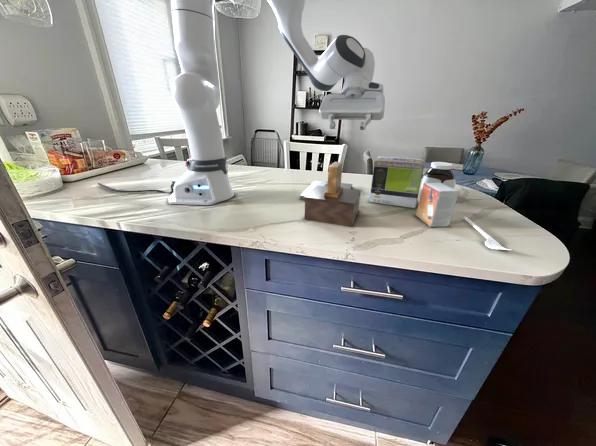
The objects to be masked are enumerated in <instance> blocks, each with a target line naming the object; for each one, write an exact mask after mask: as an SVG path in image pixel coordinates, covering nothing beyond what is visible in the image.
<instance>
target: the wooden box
mask: <svg viewBox="0 0 596 446" xmlns="http://www.w3.org/2000/svg"><path fill="white" fill-rule="evenodd" d="M327 187H328V186H319V185H317V186H316V187H315V188H313V189H312V190H311V191H310V192H309V193H308V194H307V195H306V196H305V197H304V199H305V200H304V220H308V221H313V222H321V223H326V224H333V225H339V226H345V227H353V224H354V222H355V220H356V219H357V218H356V217H357V216H358V213H359V209H360V201H361V193H362V190H361V189H353V188H352V189H345V188H343V191H342V193H341V194H340V196H339V197H338V198H334V197H326V196H324V192H325V191H326V190H327Z"/></svg>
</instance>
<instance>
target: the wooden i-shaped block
mask: <svg viewBox="0 0 596 446" xmlns="http://www.w3.org/2000/svg"><path fill="white" fill-rule="evenodd" d="M343 163H344V162H343V161H334V162H332V163H331V164H330V165H329V166H328V170H327V182H328V187H327V190H326V191H325V192H324V196H326V197H334V198H338V197H339V196H340V194H341V193H342V191H343V187H341V183H342V174H343Z"/></svg>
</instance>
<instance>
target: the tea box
mask: <svg viewBox="0 0 596 446" xmlns="http://www.w3.org/2000/svg"><path fill="white" fill-rule="evenodd" d="M424 169H425V158H418V157H417V158H416V157H402V156H401V157H399V156H386V155H385V156H384V155H378V157H377V158H376V159H375V160H374V162H373V170H372V179H371V184H370V185H371V186H370V194H369V202H370V203H375V204H381V205H390V206H397V207H405V208H410V209H416V208H417V204H418V202H417V201H418V200H419V199H418V198H419V193H420V190H421V189H420V188H421V185H422V181H423V176H424Z"/></svg>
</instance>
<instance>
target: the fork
mask: <svg viewBox="0 0 596 446" xmlns="http://www.w3.org/2000/svg"><path fill="white" fill-rule="evenodd" d="M463 220H464V221H466V222H467V223H468V224H469V225H470V226H472V227H473V228H474V229H475V230H476V231H477V233H479V234H480V235H482V237H484V238H485V241H484V245H485V247H487V248H489V249H492V250H502V251H511V249H510V248H506V247H504V246H502V244H500V243H499V242H498V241H497V240H496V239H494V238H493V237H492V236H491V235H489V234H488V233H487V232H485V231H484V229H482V228H481V227H480V226H478V225H477V224H476V223H475V222H474V221H472V220H471V219H470V218H469V217H466V216H464V217H463Z"/></svg>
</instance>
